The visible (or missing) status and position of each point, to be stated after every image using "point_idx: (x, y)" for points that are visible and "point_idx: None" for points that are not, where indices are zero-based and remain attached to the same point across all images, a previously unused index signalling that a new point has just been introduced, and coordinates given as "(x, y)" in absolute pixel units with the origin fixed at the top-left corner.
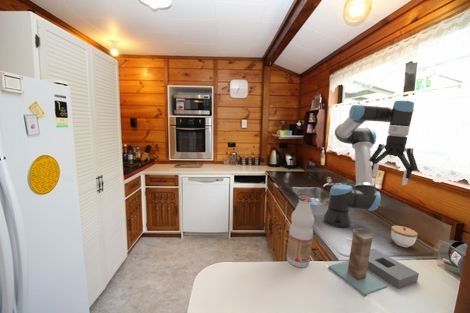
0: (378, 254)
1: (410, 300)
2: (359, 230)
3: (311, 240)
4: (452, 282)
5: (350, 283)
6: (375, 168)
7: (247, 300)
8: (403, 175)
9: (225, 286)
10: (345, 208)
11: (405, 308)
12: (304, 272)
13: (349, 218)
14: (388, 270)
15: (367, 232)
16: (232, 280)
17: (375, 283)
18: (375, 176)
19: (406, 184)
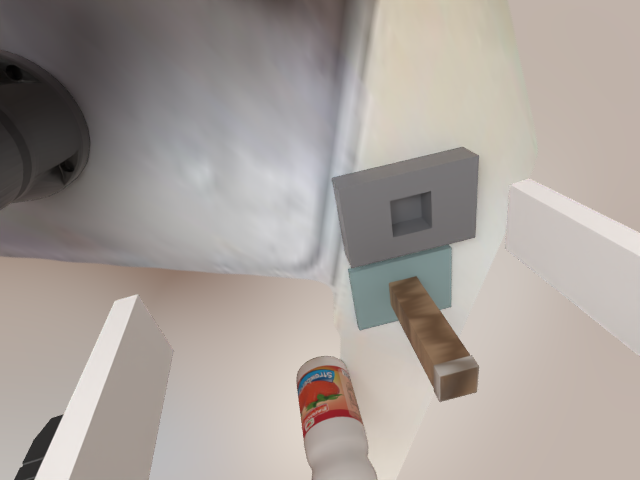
0: (372, 202)
1: (490, 222)
2: (450, 390)
3: (358, 416)
4: (504, 11)
5: None
6: (143, 465)
7: (398, 446)
8: (603, 324)
9: None
10: (10, 155)
11: (497, 250)
12: (360, 371)
13: (25, 90)
14: (440, 234)
15: (468, 377)
16: None
17: (437, 267)
18: (152, 319)
19: (533, 188)
